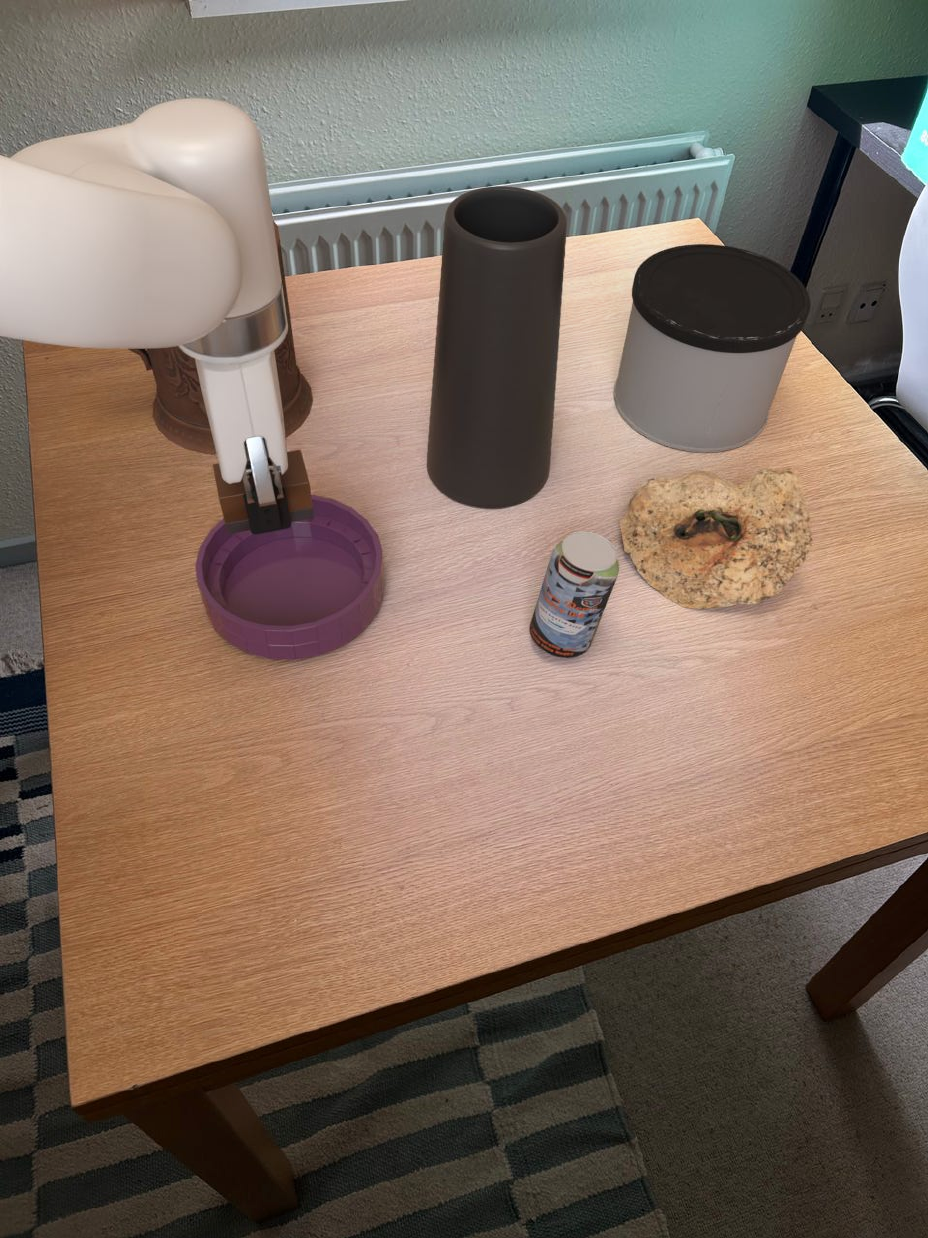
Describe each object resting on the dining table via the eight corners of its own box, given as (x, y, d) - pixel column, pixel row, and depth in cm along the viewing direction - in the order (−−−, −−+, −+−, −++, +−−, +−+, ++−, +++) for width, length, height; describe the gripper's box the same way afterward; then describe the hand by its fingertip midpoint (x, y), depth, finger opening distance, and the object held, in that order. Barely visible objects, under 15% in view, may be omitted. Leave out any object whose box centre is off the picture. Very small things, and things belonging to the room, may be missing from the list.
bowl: (315, 693, 82) (309, 660, 78) (168, 614, 87) (156, 580, 83) (416, 571, 92) (416, 536, 88) (279, 506, 97) (273, 471, 93)
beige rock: (645, 641, 95) (633, 614, 88) (625, 521, 101) (613, 487, 94) (827, 608, 90) (828, 576, 84) (795, 483, 96) (794, 444, 89)
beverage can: (515, 640, 87) (526, 555, 77) (563, 598, 90) (579, 511, 81) (566, 678, 84) (584, 595, 75) (614, 633, 88) (637, 548, 78)
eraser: (227, 534, 73) (218, 498, 70) (221, 500, 75) (212, 463, 72) (314, 518, 74) (309, 482, 71) (305, 485, 77) (300, 449, 74)
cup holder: (329, 436, 104) (307, 225, 84) (111, 479, 99) (33, 264, 79) (293, 342, 115) (266, 136, 95) (95, 377, 109) (22, 165, 90)
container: (665, 471, 102) (696, 357, 90) (583, 374, 113) (602, 261, 101) (801, 429, 107) (847, 317, 96) (711, 341, 118) (743, 229, 106)
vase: (537, 519, 97) (572, 267, 74) (413, 496, 98) (409, 242, 76) (558, 437, 105) (594, 187, 83) (442, 417, 107) (447, 167, 84)
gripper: (159, 252, 65) (208, 449, 79) (183, 398, 55) (234, 593, 69) (265, 239, 66) (294, 435, 81) (307, 379, 56) (332, 574, 71)
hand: (266, 506), depth 75 cm, fingers closed on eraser, 4 cm apart
